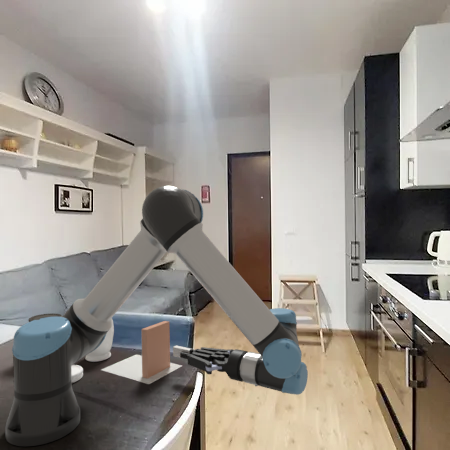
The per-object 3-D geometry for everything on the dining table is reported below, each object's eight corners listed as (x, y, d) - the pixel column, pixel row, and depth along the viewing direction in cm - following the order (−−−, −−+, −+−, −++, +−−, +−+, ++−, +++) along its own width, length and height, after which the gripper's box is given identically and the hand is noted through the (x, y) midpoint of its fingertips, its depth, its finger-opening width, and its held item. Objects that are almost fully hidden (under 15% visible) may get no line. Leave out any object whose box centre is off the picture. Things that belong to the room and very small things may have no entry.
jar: (93, 351, 131) (92, 309, 131) (119, 352, 129) (119, 310, 129) (75, 362, 121) (74, 317, 120) (103, 364, 118) (103, 318, 118)
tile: (170, 366, 113) (169, 321, 113) (147, 378, 105) (146, 330, 105) (164, 365, 115) (163, 320, 114) (141, 376, 106) (140, 328, 106)
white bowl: (75, 372, 113) (74, 361, 113) (89, 382, 106) (88, 370, 106) (40, 383, 106) (40, 370, 106) (53, 394, 99) (52, 381, 99)
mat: (182, 368, 114) (182, 365, 114) (149, 387, 101) (149, 384, 101) (136, 357, 124) (136, 354, 124) (100, 373, 112) (100, 369, 112)
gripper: (233, 391, 88) (159, 371, 100) (257, 372, 99) (188, 356, 111) (233, 360, 88) (159, 344, 100) (257, 344, 99) (188, 332, 111)
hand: (174, 350), depth 106 cm, fingers closed
